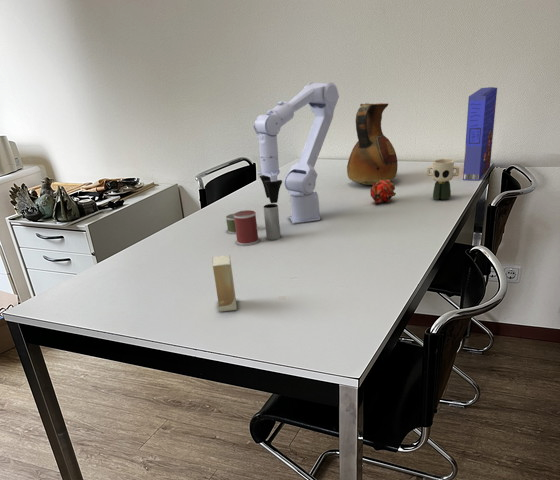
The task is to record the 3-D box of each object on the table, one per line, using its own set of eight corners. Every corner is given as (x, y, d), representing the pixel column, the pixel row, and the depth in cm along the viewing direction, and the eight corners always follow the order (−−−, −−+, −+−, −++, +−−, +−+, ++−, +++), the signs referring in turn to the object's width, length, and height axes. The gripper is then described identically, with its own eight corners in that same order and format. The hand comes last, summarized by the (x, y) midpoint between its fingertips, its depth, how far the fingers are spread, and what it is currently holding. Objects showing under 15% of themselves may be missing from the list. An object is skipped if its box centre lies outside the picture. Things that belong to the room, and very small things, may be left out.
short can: (245, 226, 204) (244, 211, 201) (248, 231, 198) (246, 217, 196) (226, 229, 203) (224, 214, 201) (228, 234, 198) (226, 219, 195)
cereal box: (475, 166, 246) (481, 87, 231) (490, 167, 243) (497, 86, 228) (463, 180, 230) (468, 95, 215) (478, 180, 227) (485, 95, 212)
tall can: (257, 236, 193) (254, 209, 189) (260, 243, 187) (257, 215, 183) (236, 239, 192) (232, 212, 188) (238, 246, 186) (234, 218, 182)
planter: (279, 239, 188) (276, 207, 183) (265, 240, 189) (261, 208, 184) (281, 235, 192) (279, 203, 187) (268, 235, 193) (265, 203, 188)
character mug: (424, 201, 210) (425, 163, 204) (428, 195, 216) (429, 158, 209) (455, 201, 206) (457, 163, 199) (459, 196, 212) (461, 158, 205)
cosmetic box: (219, 302, 151) (212, 256, 144) (236, 300, 151) (230, 254, 144) (219, 312, 145) (212, 265, 139) (237, 310, 145) (230, 263, 139)
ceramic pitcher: (405, 178, 240) (406, 97, 225) (384, 191, 226) (385, 106, 211) (361, 176, 250) (359, 98, 235) (339, 188, 236) (336, 107, 220)
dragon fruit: (391, 201, 219) (378, 215, 212) (373, 187, 219) (360, 201, 212) (403, 184, 212) (391, 198, 205) (384, 169, 213) (371, 183, 205)
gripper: (253, 153, 191) (256, 196, 198) (259, 161, 179) (263, 206, 186) (274, 151, 192) (277, 194, 199) (282, 159, 180) (285, 204, 187)
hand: (271, 200), depth 192 cm, fingers open, 7 cm apart
